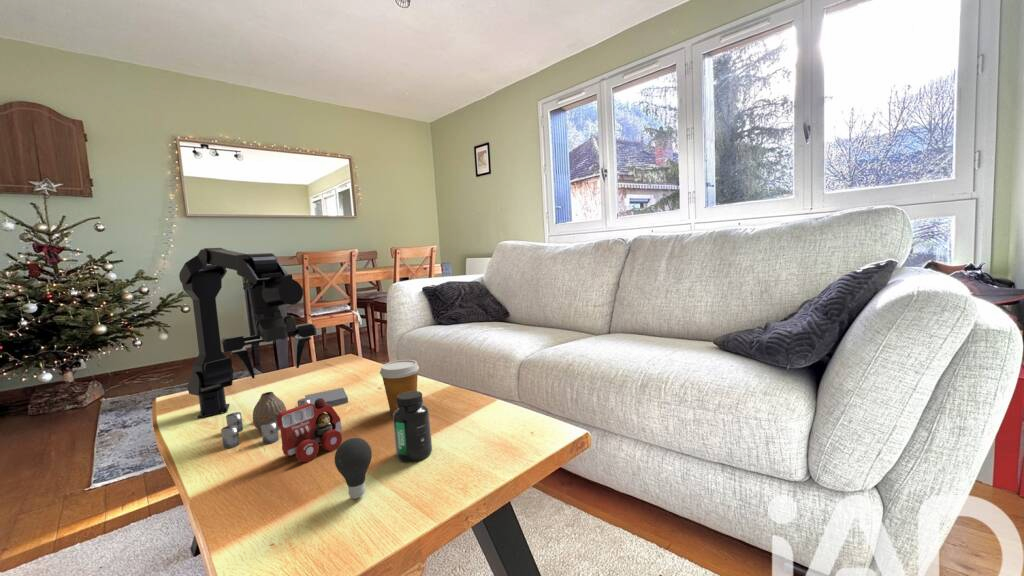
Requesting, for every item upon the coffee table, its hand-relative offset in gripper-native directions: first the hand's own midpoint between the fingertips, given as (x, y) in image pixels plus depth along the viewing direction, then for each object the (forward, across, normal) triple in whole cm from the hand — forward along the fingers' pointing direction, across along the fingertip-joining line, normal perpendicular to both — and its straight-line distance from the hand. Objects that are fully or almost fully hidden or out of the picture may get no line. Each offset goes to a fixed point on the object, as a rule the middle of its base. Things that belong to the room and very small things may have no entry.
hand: (276, 372), depth 97 cm
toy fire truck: (+15, +2, -18) cm, 24 cm away
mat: (+13, +12, +11) cm, 21 cm away
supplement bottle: (+16, +16, -35) cm, 42 cm away
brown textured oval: (+14, -2, +2) cm, 14 cm away
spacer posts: (+13, -2, +2) cm, 14 cm away
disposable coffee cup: (+15, +24, -12) cm, 31 cm away
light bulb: (+16, +3, -42) cm, 45 cm away
